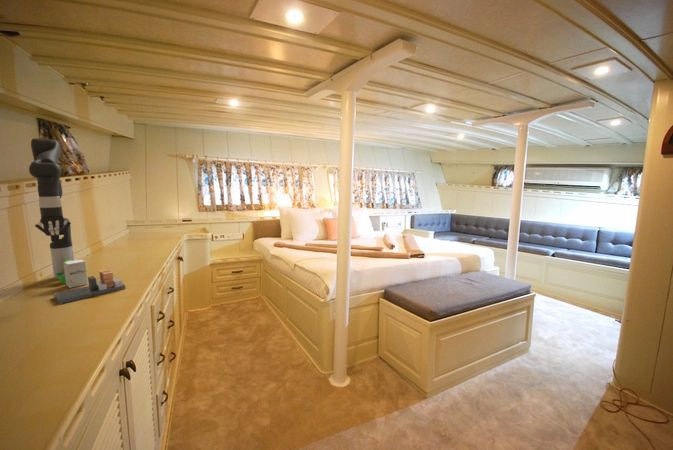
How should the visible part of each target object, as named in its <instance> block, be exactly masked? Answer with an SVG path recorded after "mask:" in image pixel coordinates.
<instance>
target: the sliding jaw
mask: <svg viewBox="0 0 673 450" xmlns="http://www.w3.org/2000/svg"><path fill="white" fill-rule="evenodd" d="M87 283H88V286H89V288H90V289H91V290H95V289H98V290H99V291H100V290H104V289H107V285H106V283H104V282H103V281H101V280H100V278H97V277H95V276H93V275H92V276H88V277H87Z"/></svg>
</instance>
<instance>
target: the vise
mask: <svg viewBox="0 0 673 450" xmlns="http://www.w3.org/2000/svg"><path fill="white" fill-rule="evenodd" d="M113 282H114V286H112V287H107V289H104V290H100V291H99V290H98V289H95V290H91V289H90V288H89V285H87V286H83V287H79V288H77V287H76V288H74V289H69V290H64V291H59V292H55V293H52V294H53V299H54V300H55V301H56V302H57V304H58V305H62V304H67V303H71V302H75V301H79V300H84V299H87V298H92V296H93V297H96V296H101V295H104V294H109V293H114V292H117V291H120V290H121V291H122V290H126V284H124V283H123V280H122V279H120V278H119V277H117V276H116V275H113Z"/></svg>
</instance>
